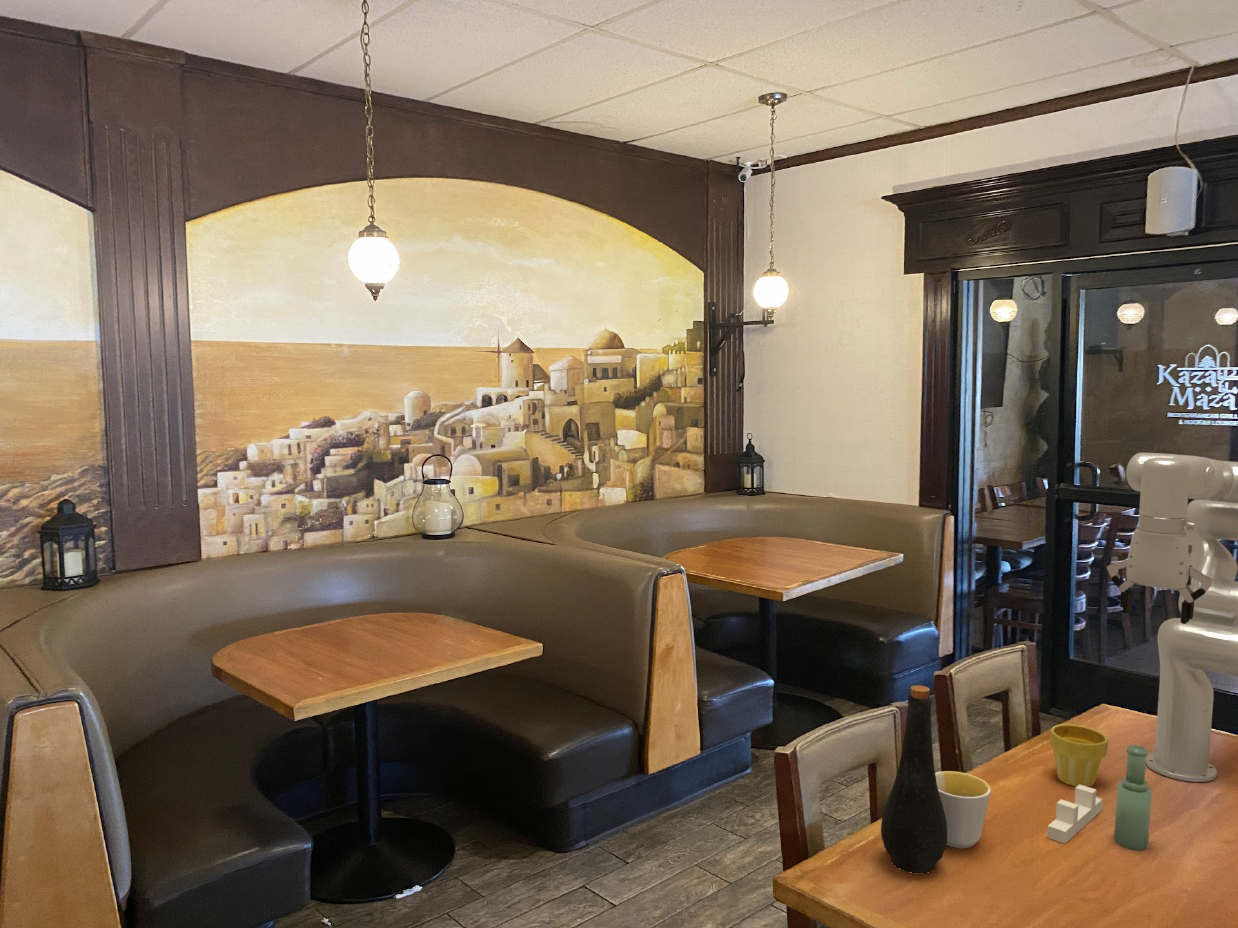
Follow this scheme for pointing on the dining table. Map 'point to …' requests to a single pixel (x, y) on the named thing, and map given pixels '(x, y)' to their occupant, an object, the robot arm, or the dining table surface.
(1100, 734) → the plant pot
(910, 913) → the dining table surface
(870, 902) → the dining table surface
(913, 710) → the bottle
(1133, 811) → the green bottle
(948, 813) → the mug
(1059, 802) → the u rest
